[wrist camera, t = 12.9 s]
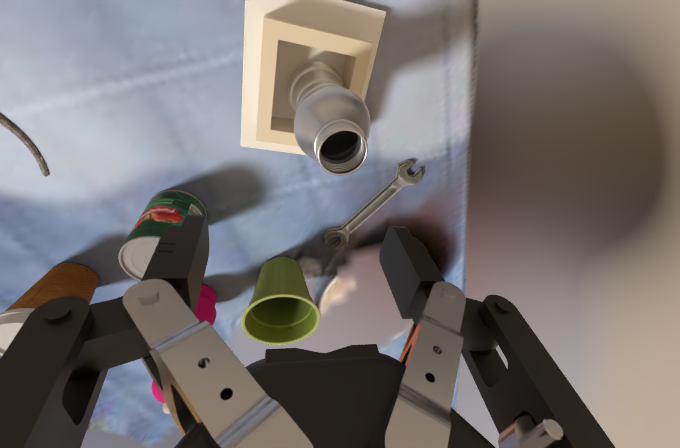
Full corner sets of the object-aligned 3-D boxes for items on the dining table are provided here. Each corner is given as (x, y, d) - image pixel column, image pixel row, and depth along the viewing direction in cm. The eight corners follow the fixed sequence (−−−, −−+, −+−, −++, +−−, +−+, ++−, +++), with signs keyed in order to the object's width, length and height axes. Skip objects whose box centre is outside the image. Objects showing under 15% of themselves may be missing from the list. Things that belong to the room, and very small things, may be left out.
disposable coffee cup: (103, 302, 54) (67, 368, 44) (34, 288, 50) (-23, 358, 40) (116, 265, 50) (78, 329, 40) (41, 246, 45) (-21, 313, 36)
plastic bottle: (275, 74, 36) (277, 134, 20) (328, 46, 36) (371, 88, 20) (301, 123, 40) (319, 206, 24) (348, 99, 40) (399, 169, 24)
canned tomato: (185, 241, 49) (166, 294, 40) (136, 213, 45) (103, 265, 36) (218, 211, 47) (205, 260, 38) (170, 178, 43) (143, 225, 34)
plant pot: (311, 241, 53) (319, 291, 45) (314, 288, 60) (321, 339, 52) (241, 248, 52) (234, 301, 43) (251, 295, 59) (247, 349, 50)
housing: (246, -26, 32) (242, -29, 27) (383, 11, 35) (400, 13, 31) (241, 143, 41) (236, 162, 37) (348, 157, 45) (357, 176, 41)
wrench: (424, 172, 49) (427, 175, 48) (337, 249, 56) (338, 253, 55) (406, 153, 47) (409, 156, 46) (317, 236, 53) (318, 240, 53)
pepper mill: (180, 278, 53) (140, 398, 37) (223, 285, 56) (203, 400, 40) (173, 305, 57) (134, 425, 41) (214, 311, 59) (192, 426, 44)
